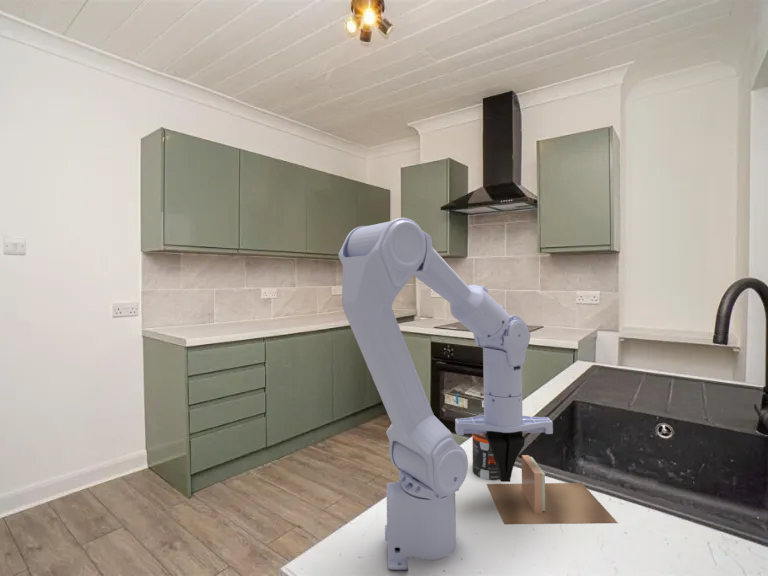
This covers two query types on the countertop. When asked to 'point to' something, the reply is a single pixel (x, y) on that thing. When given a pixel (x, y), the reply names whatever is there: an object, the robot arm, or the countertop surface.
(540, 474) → the tile
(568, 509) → the board
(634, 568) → the countertop surface
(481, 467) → the supplement bottle
